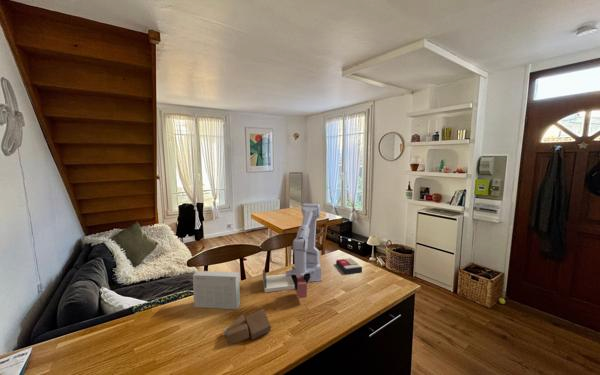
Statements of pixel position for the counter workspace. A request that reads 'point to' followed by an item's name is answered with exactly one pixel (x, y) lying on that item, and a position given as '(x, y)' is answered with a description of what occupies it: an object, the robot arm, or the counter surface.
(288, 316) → the counter surface
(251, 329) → the wooden block
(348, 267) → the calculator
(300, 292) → the burgundy book
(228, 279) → the skincare box
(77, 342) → the counter surface
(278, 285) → the grey open rack
